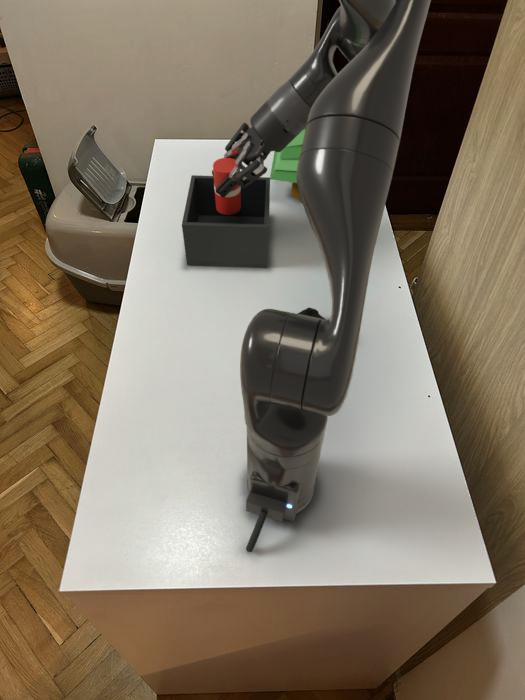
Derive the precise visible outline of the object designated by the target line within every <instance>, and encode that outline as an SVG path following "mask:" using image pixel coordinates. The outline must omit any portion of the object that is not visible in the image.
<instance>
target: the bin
mask: <svg viewBox="0 0 525 700" xmlns="http://www.w3.org/2000/svg"><path fill="white" fill-rule="evenodd" d="M246 179H247V178H246ZM246 179H245V180H246ZM245 180H244V181H245ZM270 200H271V179H270V176H269V177H264V176H261V177H259V178H258V179H257V180H255V181H254V182H253V183H251V184H250V185H248V186H247V187H246V188H244V189H243V188H242V187H241V209H240V211H239V212H237V213H235V214H232V215H225V214H221V213H219V212H218V211H217V209H216V201H215V190H214V176H213V175H196V174H195V175H194V174H192V175H191V177H190V181H189V186H188V192H187V197H186V201H185V207H184V212H183V217H182V221H181V229H182V230H181V231H182V238H183V244H184V253H185V261H186V266H187V267H189V266H190V267H191V266H192V267H219V268H220V267H221V268H222V267H223V268H224V267H225V268H256V269H257V268H259V269H260V268H261V269H267V268H268V261H269V260H268V259H269V233H270V206H271V205H270V204H271V203H270V202H271V201H270Z"/></svg>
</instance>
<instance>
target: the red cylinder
mask: <svg viewBox="0 0 525 700" xmlns="http://www.w3.org/2000/svg"><path fill="white" fill-rule="evenodd" d="M235 161H236V160H235V159H233V158H224V157H221V158H218V159H216V160H215V161H214V162H213V164H212V170H213V173H214V190H215V188H216V187H217V186H218V185H219V184H220V183H221V182H222V181H223V180H224V179H225V178H226V177H227V176H228V175H229V174H230V173H231V171H232V170H233V168H234V167H235ZM240 171H241V169H240V170H239V171H238V172H237V174H238V173H239V172H240ZM215 201H216V209H217V211H218V212H219V213H221V214H225V215H232V214H235V213H237V212H239V211H240V209H241V186H239V185H236V186H235V187H234V188H233V189H232V190H231V191H230V192H229V193H228V194H227V195H226V196H225V197H221V196H220V195H219V194H217V193H216V190H215Z"/></svg>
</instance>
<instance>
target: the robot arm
mask: <svg viewBox="0 0 525 700" xmlns="http://www.w3.org/2000/svg"><path fill="white" fill-rule="evenodd" d="M338 2H339V3H340V6H339V7H338V8H337V9H336V11H335V12H334V14H333V16H332V18H331V20H330V22H329V24H328V25H327V27H326V29H325V31H324V33H323V35H322V37H321V38H320V39H319V42H318V43H317V45H316V46H315V48H314V49H313V50H312V52H311V53H310V55H309V57H308V58H307V59H306V60H305V62H303V64H302V65H301V66H299V68H298V69H297V70H296V71H295V72H294V73H293V74H292V75H291V76H290V78H288V79H287V80H286V81H285V82H284V83H282V85H280V86H279V87H278V88H277V89H276V90H275V91H274V92H273V93H272V94H271V96H269V98H268V99H267V100H265V102H263V104H262V105H261V106H260V107H259V108H258V109H257V111H255V112H254V114H252V116H250V119H249V122H250V125H251V126H250V125H249V124H248V123H247V122H243V123H242V124H241V125H240V127H239V128H238V129H237V131H236V132H235V133H234V135H233V136H232V138H231V139H230V140H229V141H228V143H227V144H226V145H225V148H224V150H225V151H226V152H225V153H224V155H223V158H233V159H235V160H236V161H235V167H234V168H233V170H232V171H231V173H230V174H229V175H228V176H227V177H226V178H225V179H224V180H223V181H222V182H221V183H220V184H219V185H218V186H217V187H216V188H215V190H216V193H217V194H219V195H220V196H221V197H225V196H226V195H227V194H228V193H229V192H230V191H231V190H232V189H233V188H234V187H235V186H236V185H239V186H241V187H242V188H243V189H244V188H246V187H247V186H248V185H250V184H251V183H253V182H254V181H255V180H257V179H258V178H259V177H263V176H264V175H265V174H267V172H268V167H266V166H265V161H266V159H267V158H268V156H269V155H270V154H271V152H274V151H276V152H281V151H282V150H283V149H284V148H285V147H286V146H287V145H288V144H289V143H290V142H291V141H292V140H293V139H294V138H295V137H296V136H297V135H298V134H299V133H300V132H301V131H302V130H303V129H304V128H305V127H306V130H305V134H304V139H303V144H302V148H301V153H300V158H299V162H298V167H297V185H298V190H299V194H300V197H301V203H302V206H303V209H304V212H305V214H306V217H307V220H308V221H309V224H310V227H311V229H312V231H313V232H312V233H313V235H314V237H315V239H316V242H317V244H318V247H319V250H320V253H321V256H322V260H323V264H324V267H325V270H326V275H327V279H328V283H329V284H328V285H329V289H330V298H331V314H330V317H329V318H328V319H327V320H325V319H326V318H325V319H322V320H321V319H320V318H315V317H310V316H306V315H301V314H298V313H295V312H289V311H286V310H280V309H274V308H264V309H262V310H260V311H258V312H257V313H256V314H255V315H254V316H253V317H252V319H251V320H250V322H249V324H248V325H247V328H246V330H245V332H244V336H243V339H242V344H241V349H240V359H239V360H240V361H239V377H240V389H241V395H242V402H243V411H244V413H243V414H244V422H245V427H246V468H247V479H246V488H247V493H248V495H247V498H246V501H245V507H246V509H245V511H246V512H248V513H251V514H254V515H255V514H256V515H258V517H257V519H256V522H255V525H254V527H253V530H252V532H251V535H250V537H249V540H248V543H247V544H246V546H245V551H247V552H248V553H253V552H254V549H255V546H256V545H257V542H258V540H259V537H260V534H261V532H262V530H263V527H264V524H265V522H266V519H267V518H268V519H272V520H275V521H279V522H283V520H286V521H290V522H294V521H295V519H296V515H297V514H299V513H301V512H302V511H303V510H305V509H306V508H307V506H308V505H309V504H310V503H311V500H312V498H313V495H314V491H315V487H316V486H315V483H316V478H317V474H318V473H317V472H318V468H319V463H320V458H321V454H322V449H323V443H324V439H325V435H326V429H327V425H328V421H329V419H328V418H329V417H332V416H334V415H337V413H339V412H340V410H341V409H342V408H343V406H344V404H345V402H346V399H347V397H348V395H349V390H350V388H351V383H352V378H353V374H354V369H355V365H356V358H357V353H358V347H359V341H360V336H361V335H360V334H361V328H362V321H363V316H364V309H365V304H366V303H365V302H366V297H367V290H368V284H369V278H370V273H371V268H372V261H373V256H374V252H375V247H376V244H377V239H378V236H379V231H380V227H381V223H382V219H383V216H384V211H385V207H386V203H387V199H388V196H389V191H390V187H391V184H392V179H393V174H394V172H395V171H394V170H395V166H396V161H397V157H398V152H399V146H400V143H401V137H402V132H403V126H404V121H405V116H406V115H405V114H406V109H407V105H408V98H409V94H410V89H411V84H412V78H413V73H414V68H415V63H416V59H417V55H418V50H419V46H420V43H421V38H422V36H423V31H424V27H425V24H426V20H427V17H428V14H429V9H430V7H431V2H432V0H338ZM337 48H338V50H339V52H341V54H342V55H343V56H344V57H345V58H346V61H348V63H347V64H345V66H344V67H343V68H342V69H341V70H340V71H339V72H337V69H336V67H335V64H334V56H335V55H334V54H335V52H336V50H337ZM244 164H245V165H246V166H245V165H244ZM239 170H240V172H239V173H238V174H237V172H238V171H239ZM211 176H214V173H213V169H212V170H211ZM246 178H247V179H246ZM245 179H246V180H245ZM244 180H245V181H244Z"/></svg>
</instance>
